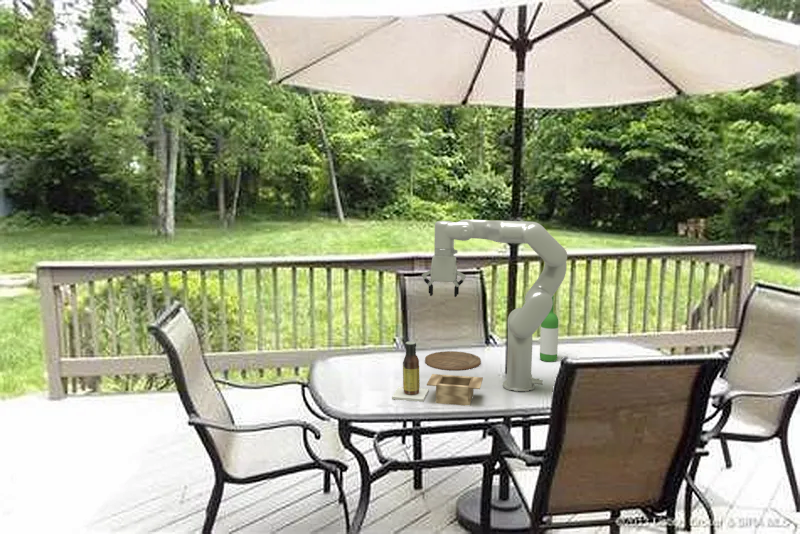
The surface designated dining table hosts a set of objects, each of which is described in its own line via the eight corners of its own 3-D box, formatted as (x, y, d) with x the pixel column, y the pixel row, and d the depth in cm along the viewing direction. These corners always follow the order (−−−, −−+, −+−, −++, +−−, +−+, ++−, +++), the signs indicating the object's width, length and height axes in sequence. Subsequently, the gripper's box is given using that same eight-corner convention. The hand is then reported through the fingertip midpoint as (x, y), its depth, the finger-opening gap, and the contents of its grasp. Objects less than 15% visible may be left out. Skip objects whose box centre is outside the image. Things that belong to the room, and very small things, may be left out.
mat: (428, 391, 250) (428, 388, 250) (423, 401, 239) (423, 399, 238) (398, 389, 253) (398, 386, 252) (391, 399, 241) (391, 396, 241)
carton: (482, 395, 246) (482, 377, 245) (479, 406, 234) (480, 388, 233) (432, 391, 250) (432, 373, 249) (426, 402, 238) (426, 384, 237)
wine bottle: (540, 356, 298) (542, 293, 293) (557, 358, 295) (560, 294, 291) (538, 361, 290) (540, 296, 286) (556, 363, 288) (558, 297, 284)
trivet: (437, 352, 305) (437, 348, 305) (488, 359, 295) (488, 355, 294) (415, 366, 283) (415, 362, 283) (469, 374, 272) (469, 370, 272)
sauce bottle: (410, 388, 250) (410, 339, 247) (422, 392, 246) (423, 341, 243) (399, 393, 245) (399, 342, 242) (412, 396, 241) (412, 345, 238)
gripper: (467, 252, 252) (466, 295, 255) (423, 250, 256) (423, 293, 258) (465, 254, 245) (464, 298, 247) (420, 253, 248) (420, 296, 251)
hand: (443, 295), depth 253 cm, fingers open, 9 cm apart
